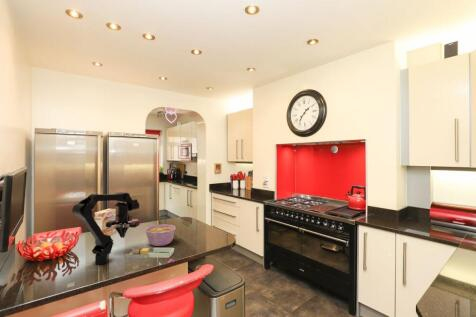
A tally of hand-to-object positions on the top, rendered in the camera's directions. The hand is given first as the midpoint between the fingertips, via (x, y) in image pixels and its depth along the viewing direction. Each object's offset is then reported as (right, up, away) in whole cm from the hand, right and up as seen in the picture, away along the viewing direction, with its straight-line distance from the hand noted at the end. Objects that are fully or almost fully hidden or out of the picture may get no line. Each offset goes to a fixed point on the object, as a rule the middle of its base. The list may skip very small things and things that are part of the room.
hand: (122, 237), depth 143 cm
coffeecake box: (-32, -11, +37) cm, 50 cm away
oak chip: (+9, -10, 0) cm, 13 cm away
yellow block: (+14, -10, 0) cm, 17 cm away
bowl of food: (+18, -12, +18) cm, 28 cm away
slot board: (+11, -11, 0) cm, 16 cm away
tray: (+24, -11, 0) cm, 27 cm away
